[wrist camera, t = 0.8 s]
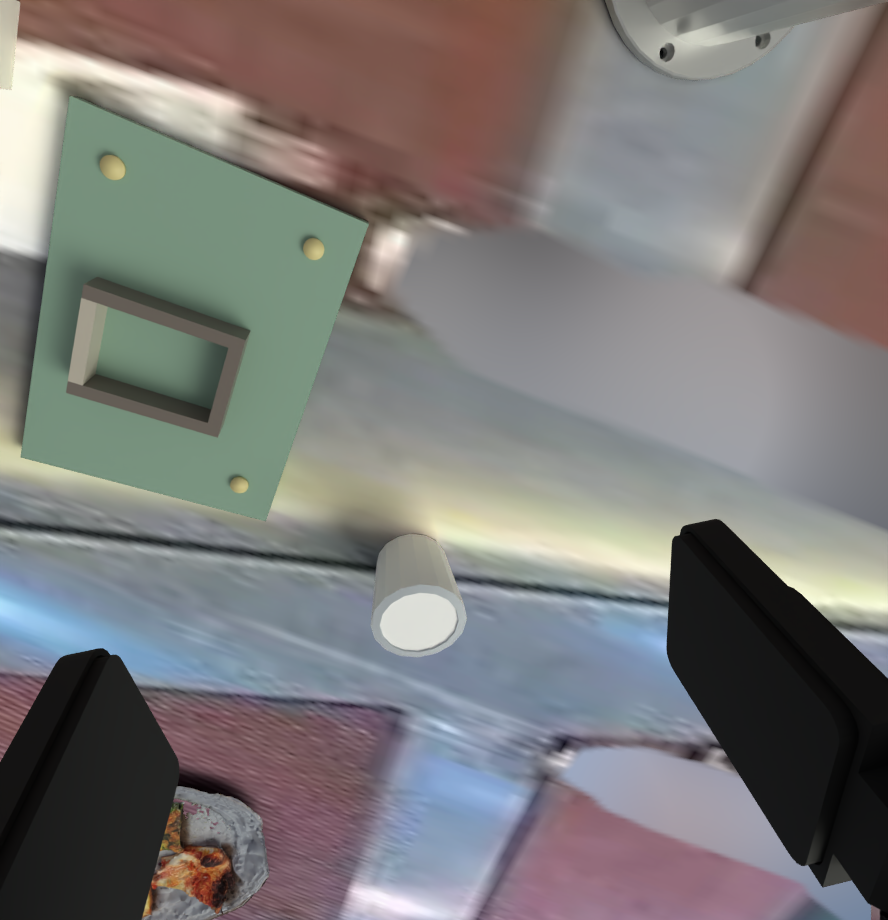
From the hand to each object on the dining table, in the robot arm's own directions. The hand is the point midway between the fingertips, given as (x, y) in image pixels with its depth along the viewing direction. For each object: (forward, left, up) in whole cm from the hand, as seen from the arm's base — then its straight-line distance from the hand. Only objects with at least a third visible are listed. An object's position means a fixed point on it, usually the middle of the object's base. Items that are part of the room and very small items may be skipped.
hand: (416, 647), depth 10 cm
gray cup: (+20, +11, -31) cm, 39 cm away
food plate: (+62, -1, -32) cm, 70 cm away
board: (+8, -9, -31) cm, 33 cm away
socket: (+9, -10, -30) cm, 33 cm away
